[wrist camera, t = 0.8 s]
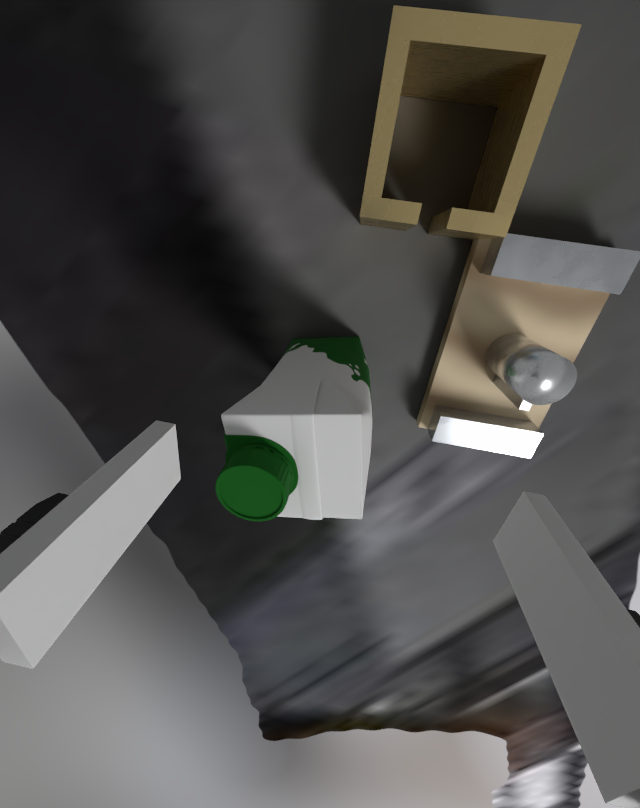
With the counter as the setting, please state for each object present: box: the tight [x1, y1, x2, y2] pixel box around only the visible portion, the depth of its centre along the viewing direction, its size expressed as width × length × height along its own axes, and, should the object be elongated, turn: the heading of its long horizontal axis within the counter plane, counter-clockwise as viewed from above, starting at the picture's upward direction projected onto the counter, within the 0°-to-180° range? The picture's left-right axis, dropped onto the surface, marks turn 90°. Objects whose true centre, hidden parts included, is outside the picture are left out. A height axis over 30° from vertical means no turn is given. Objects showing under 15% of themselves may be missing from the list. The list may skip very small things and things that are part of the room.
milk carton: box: [215, 336, 372, 521], centre depth 25 cm, size 9×9×20 cm
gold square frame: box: [360, 5, 582, 240], centre depth 22 cm, size 10×10×7 cm
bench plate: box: [416, 238, 610, 429], centre depth 30 cm, size 19×12×2 cm, turn 173°
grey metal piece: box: [428, 233, 640, 458], centre depth 26 cm, size 19×10×7 cm, turn 173°
